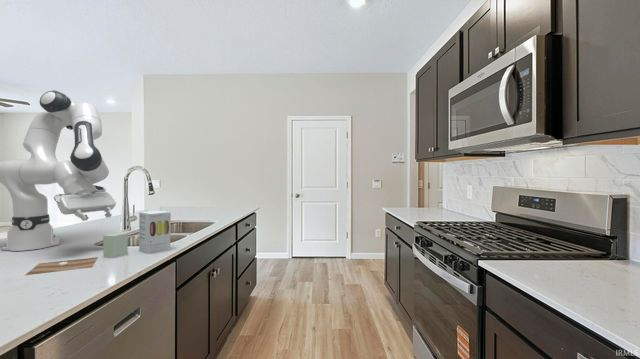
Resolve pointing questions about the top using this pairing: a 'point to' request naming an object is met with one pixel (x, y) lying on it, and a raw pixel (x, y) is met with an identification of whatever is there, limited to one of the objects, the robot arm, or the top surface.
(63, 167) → the robot arm
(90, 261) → the walnut board
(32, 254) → the top surface
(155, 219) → the supplement box
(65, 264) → the cream dish
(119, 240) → the sage green eraser
